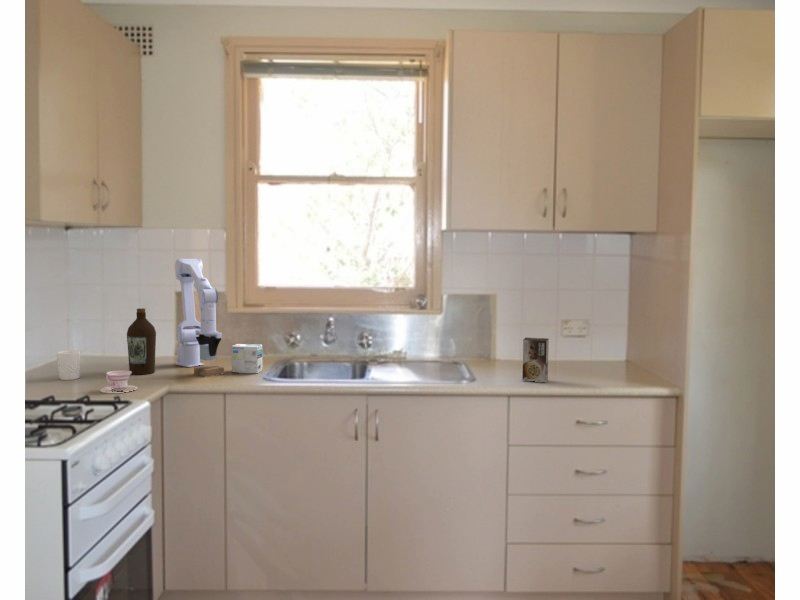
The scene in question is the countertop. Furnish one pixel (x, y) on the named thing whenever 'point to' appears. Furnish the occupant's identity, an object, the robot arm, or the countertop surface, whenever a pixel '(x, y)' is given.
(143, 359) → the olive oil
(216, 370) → the walnut block
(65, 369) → the white cup
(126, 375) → the teacup
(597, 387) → the countertop surface
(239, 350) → the light bulb box
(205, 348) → the blue grey block
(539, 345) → the coffee box
